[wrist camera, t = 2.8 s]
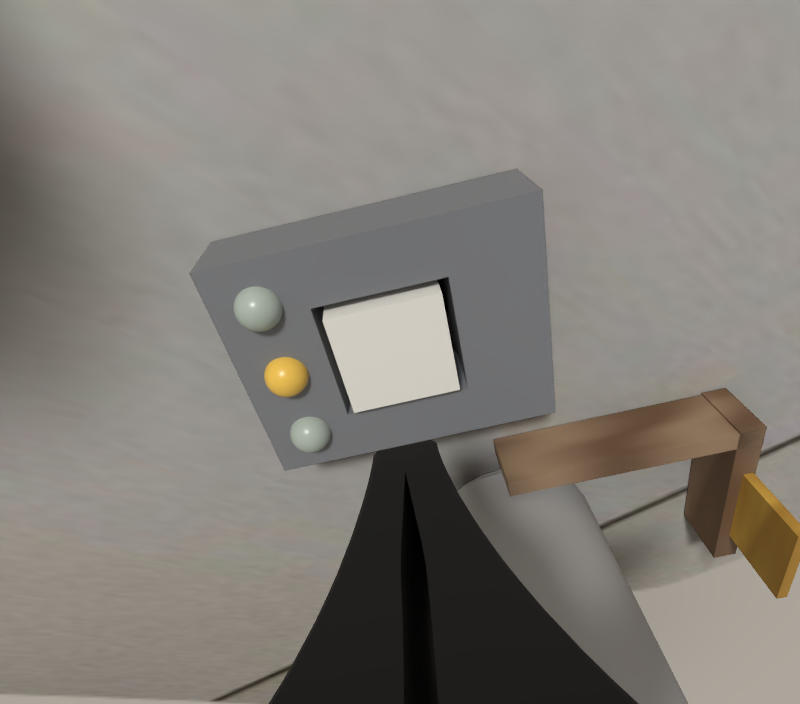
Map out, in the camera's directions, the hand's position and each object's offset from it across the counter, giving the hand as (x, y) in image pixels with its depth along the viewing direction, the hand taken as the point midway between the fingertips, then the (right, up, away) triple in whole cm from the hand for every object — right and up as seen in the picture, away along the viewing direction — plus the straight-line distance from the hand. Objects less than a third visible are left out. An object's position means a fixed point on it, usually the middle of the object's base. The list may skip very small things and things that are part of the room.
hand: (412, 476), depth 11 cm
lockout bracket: (+9, -3, +12) cm, 16 cm away
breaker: (-1, +4, +6) cm, 7 cm away
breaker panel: (-1, +4, +7) cm, 8 cm away
